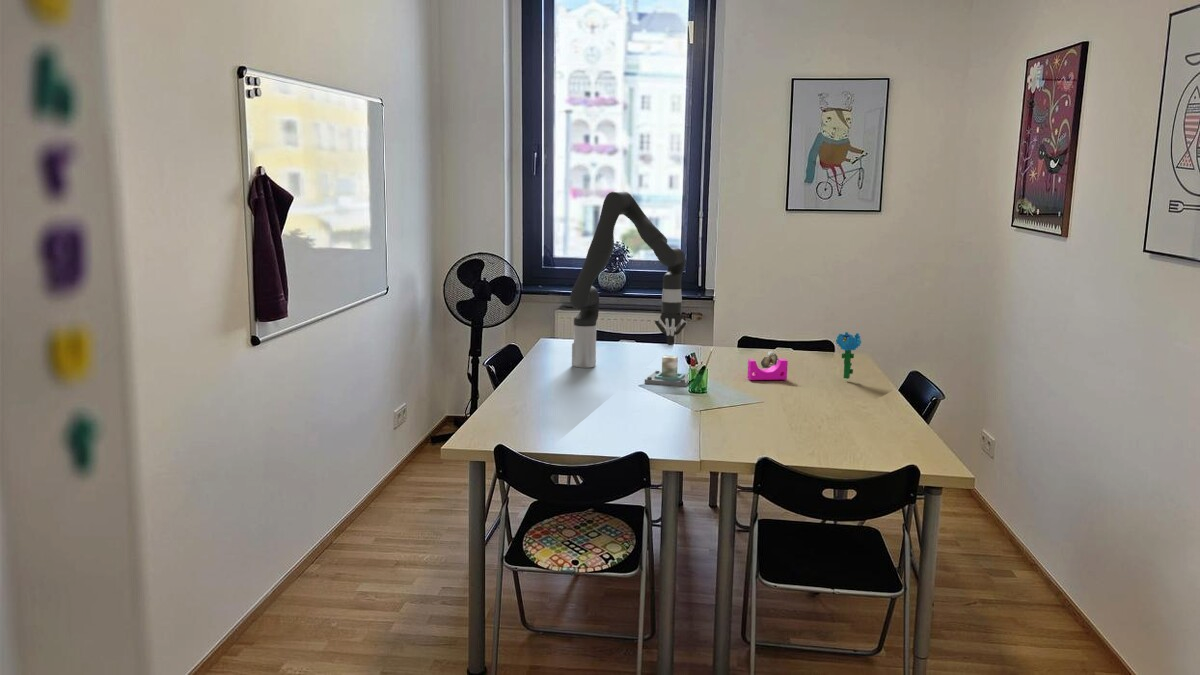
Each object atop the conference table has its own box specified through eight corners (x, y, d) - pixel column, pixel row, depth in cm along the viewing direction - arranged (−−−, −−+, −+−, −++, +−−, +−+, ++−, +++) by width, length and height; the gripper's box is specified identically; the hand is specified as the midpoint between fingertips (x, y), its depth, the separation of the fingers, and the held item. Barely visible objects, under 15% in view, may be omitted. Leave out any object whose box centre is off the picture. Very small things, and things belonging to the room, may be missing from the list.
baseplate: (644, 383, 345) (644, 377, 344) (654, 375, 360) (654, 370, 360) (685, 386, 340) (685, 380, 340) (694, 378, 355) (694, 372, 355)
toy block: (781, 376, 364) (782, 357, 362) (786, 379, 357) (787, 360, 356) (745, 376, 362) (746, 358, 360) (750, 379, 356) (750, 361, 354)
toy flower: (831, 378, 359) (833, 333, 357) (840, 374, 367) (842, 331, 364) (853, 381, 354) (855, 336, 351) (861, 377, 361) (864, 333, 358)
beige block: (661, 377, 348) (662, 357, 347) (664, 375, 353) (665, 355, 352) (674, 378, 347) (674, 358, 345) (677, 376, 351) (677, 356, 350)
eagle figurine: (772, 371, 386) (767, 373, 378) (761, 359, 388) (755, 360, 380) (785, 359, 384) (780, 361, 376) (774, 347, 386) (768, 348, 378)
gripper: (652, 300, 344) (651, 345, 346) (686, 302, 340) (685, 347, 342) (657, 298, 351) (656, 342, 353) (690, 300, 347) (689, 344, 349)
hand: (670, 345), depth 348 cm, fingers closed
